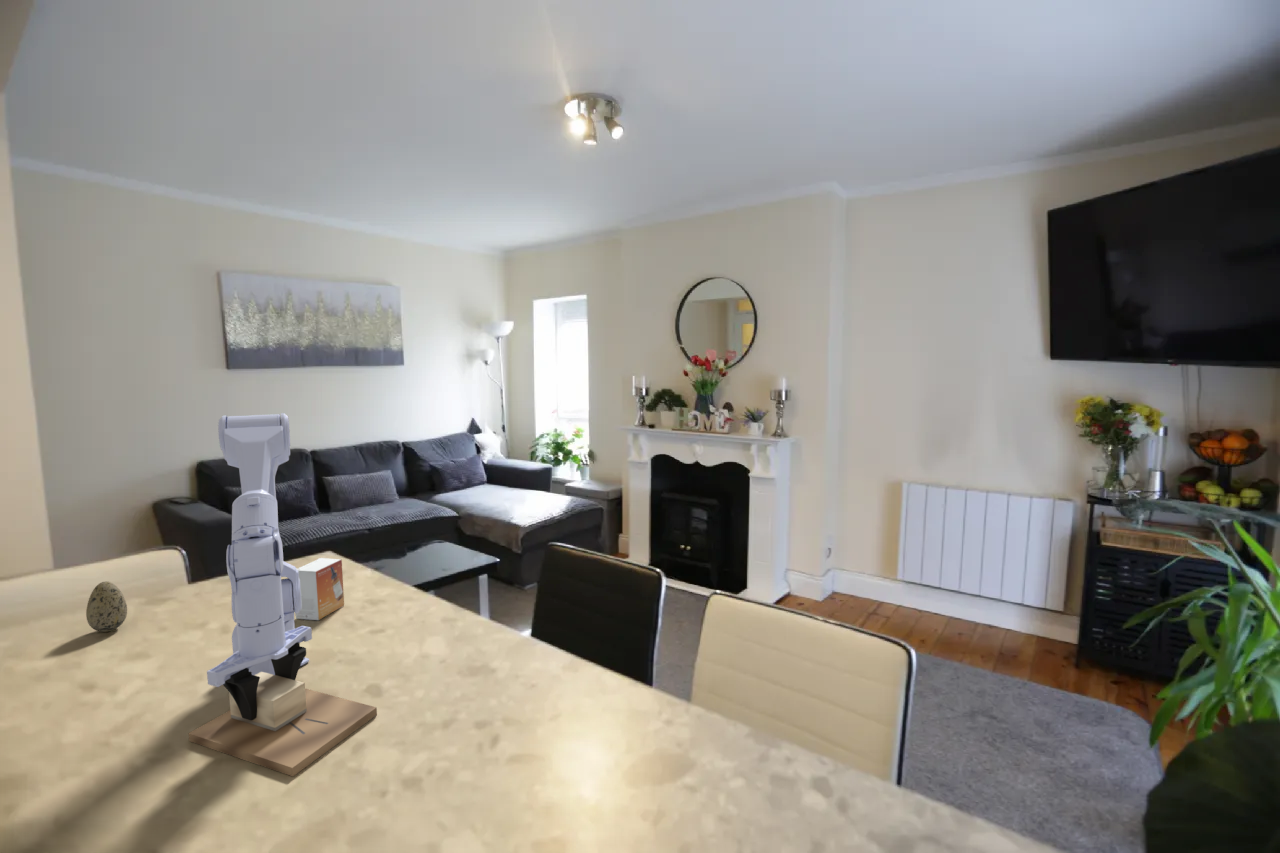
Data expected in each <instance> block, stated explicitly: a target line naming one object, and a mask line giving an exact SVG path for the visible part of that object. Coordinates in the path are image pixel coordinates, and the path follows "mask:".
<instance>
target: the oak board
mask: <svg viewBox="0 0 1280 853" xmlns="http://www.w3.org/2000/svg"><path fill="white" fill-rule="evenodd" d="M305 694H306V708H307V711H306V712H305V713H303V714H302V715H300V716H299V717H297V718H296V719H294V720H292V721H291V722H289V723H288V724H286V725H285V726H283V727H281V728H280V729H278V730H277V731H273V730H270V729H266V728H263V727H260V726H257V725H253V724H250V723H247V722H243V721H240V720H237V719H234V718H231V711H230V709H228V710H227V711H225V712H224V713H222V714H221V715H219V716H217V717H215V718H213V719H211V720H209V721H207V722H206V723H204V724H202V725H201V726H198V727H197V728H196V729H193V730H192V731H190V732H188V741H189V742H191V743H193V744H196V745H200V746H202V747H204V748H208V749H210V750H215V751H217V752H220V753H223V754H226V755H229V756H231V757H234V758H238V759H241V760H244V761H246V762H248V763H249V762H250V763H252V764H256V765H258V766H260V767H264V768H266V769H270V770H273V771H276V772H279V773H282V774H284V775H288V776H291V777H294V776H296V775H297V774H299V773H300V772H301V771H302V770H304V769H306V767H308V766H310V765H311V764H312V763H313V762H315V761H316V760H318V759H319V758H320V757H322V756H323V755H325V754H326V753H327V752H328V751H330V750H331V749H333V748H335V746H336V745H338V744H339V743H341V742H342V741H344V740H345V739H346V738H348V737H349V736H350V735H351V734H353V733H354V732H356V731H357V730H358V729H360V728H361V727H362V726H364V725H366V723H368V722H370V721H371V720H372V719H373V718H375V717H376V716H378V711H377V710H378V709H377V706H372V705H370V704H365V703H361V702H357V701H354V700H350V699H347V698H343V697H338V696H336V695H335V696H334V695H331V694H327V693H323V692H319V691H316V690H312V689H309V688H305Z"/></svg>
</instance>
